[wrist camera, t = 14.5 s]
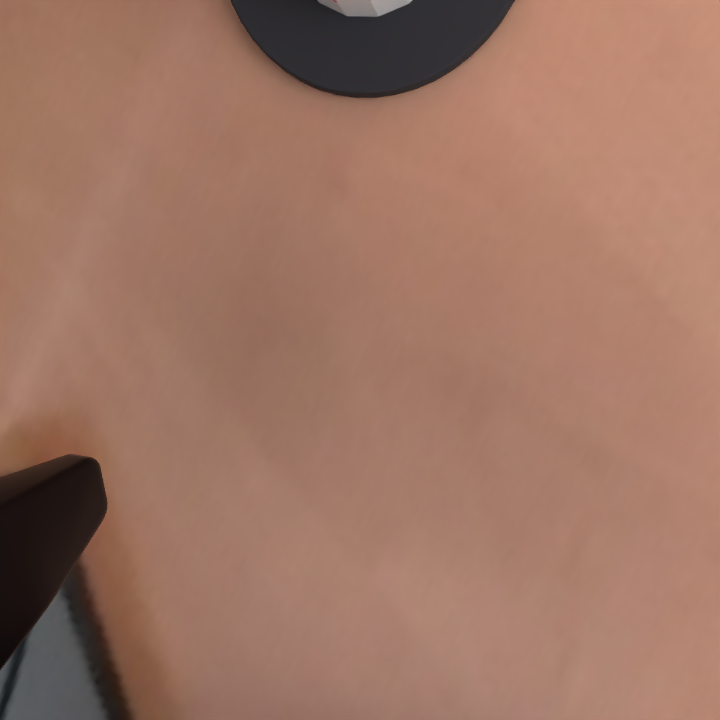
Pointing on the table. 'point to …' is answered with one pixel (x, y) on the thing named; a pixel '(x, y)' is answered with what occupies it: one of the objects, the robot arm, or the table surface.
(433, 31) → the coaster
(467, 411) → the table surface
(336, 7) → the beverage cup
